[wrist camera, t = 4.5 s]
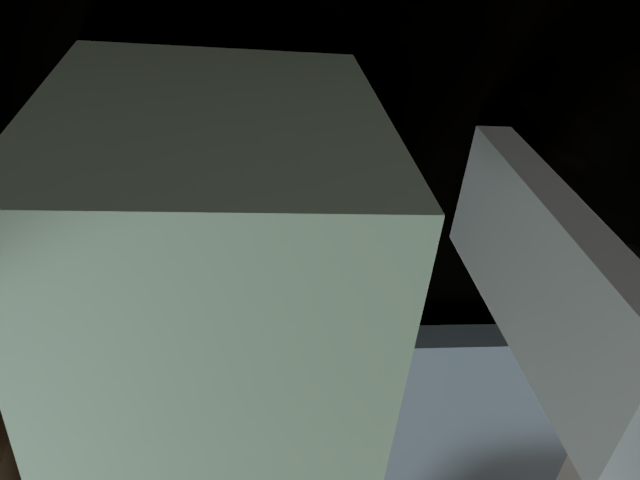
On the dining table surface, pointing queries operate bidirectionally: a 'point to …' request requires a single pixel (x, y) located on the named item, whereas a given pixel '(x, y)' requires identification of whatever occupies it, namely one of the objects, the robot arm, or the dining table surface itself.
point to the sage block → (208, 267)
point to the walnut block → (7, 456)
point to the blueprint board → (472, 413)
